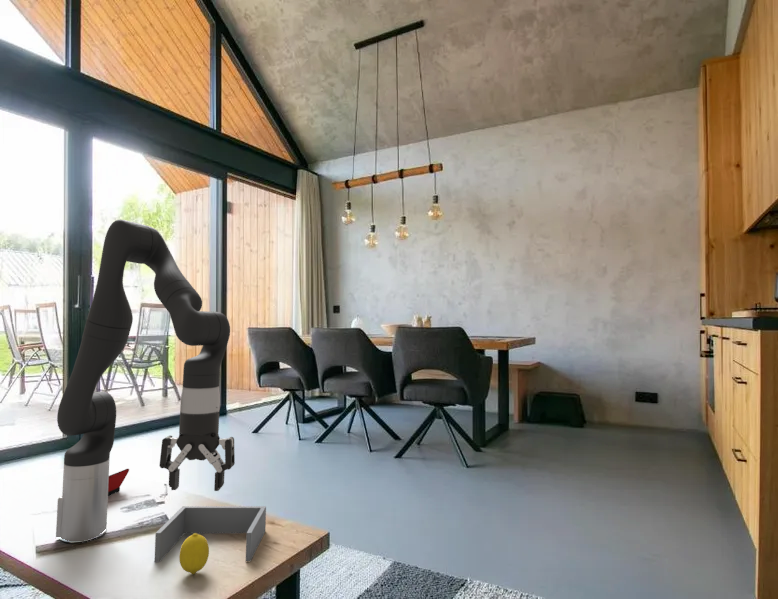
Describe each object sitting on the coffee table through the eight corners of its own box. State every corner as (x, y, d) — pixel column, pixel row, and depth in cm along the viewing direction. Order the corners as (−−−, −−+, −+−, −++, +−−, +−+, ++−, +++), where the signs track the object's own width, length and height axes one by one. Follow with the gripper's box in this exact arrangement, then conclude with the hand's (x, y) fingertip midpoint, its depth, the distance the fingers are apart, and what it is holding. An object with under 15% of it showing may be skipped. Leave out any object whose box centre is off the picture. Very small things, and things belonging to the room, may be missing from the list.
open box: (154, 562, 102) (155, 533, 102) (181, 531, 117) (182, 506, 117) (250, 561, 103) (251, 532, 103) (265, 531, 118) (266, 506, 118)
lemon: (197, 582, 94) (199, 540, 95) (172, 579, 95) (174, 537, 96) (213, 568, 100) (215, 529, 100) (189, 565, 101) (191, 526, 101)
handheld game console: (99, 489, 146) (100, 464, 146) (129, 493, 143) (130, 467, 143) (62, 504, 133) (63, 477, 134) (94, 508, 131) (96, 480, 131)
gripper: (156, 411, 95) (152, 495, 94) (230, 413, 95) (226, 496, 95) (172, 404, 102) (168, 482, 102) (240, 406, 103) (237, 483, 102)
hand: (196, 489), depth 98 cm, fingers open, 8 cm apart
